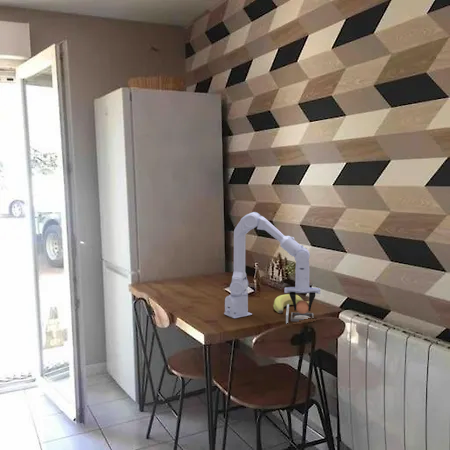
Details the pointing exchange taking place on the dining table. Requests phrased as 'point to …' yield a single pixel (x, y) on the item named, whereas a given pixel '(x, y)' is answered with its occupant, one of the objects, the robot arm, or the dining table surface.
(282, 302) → the banana
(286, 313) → the acrylic wall
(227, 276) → the dining table surface
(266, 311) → the dining table surface
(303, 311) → the ball
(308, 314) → the grey square frame
